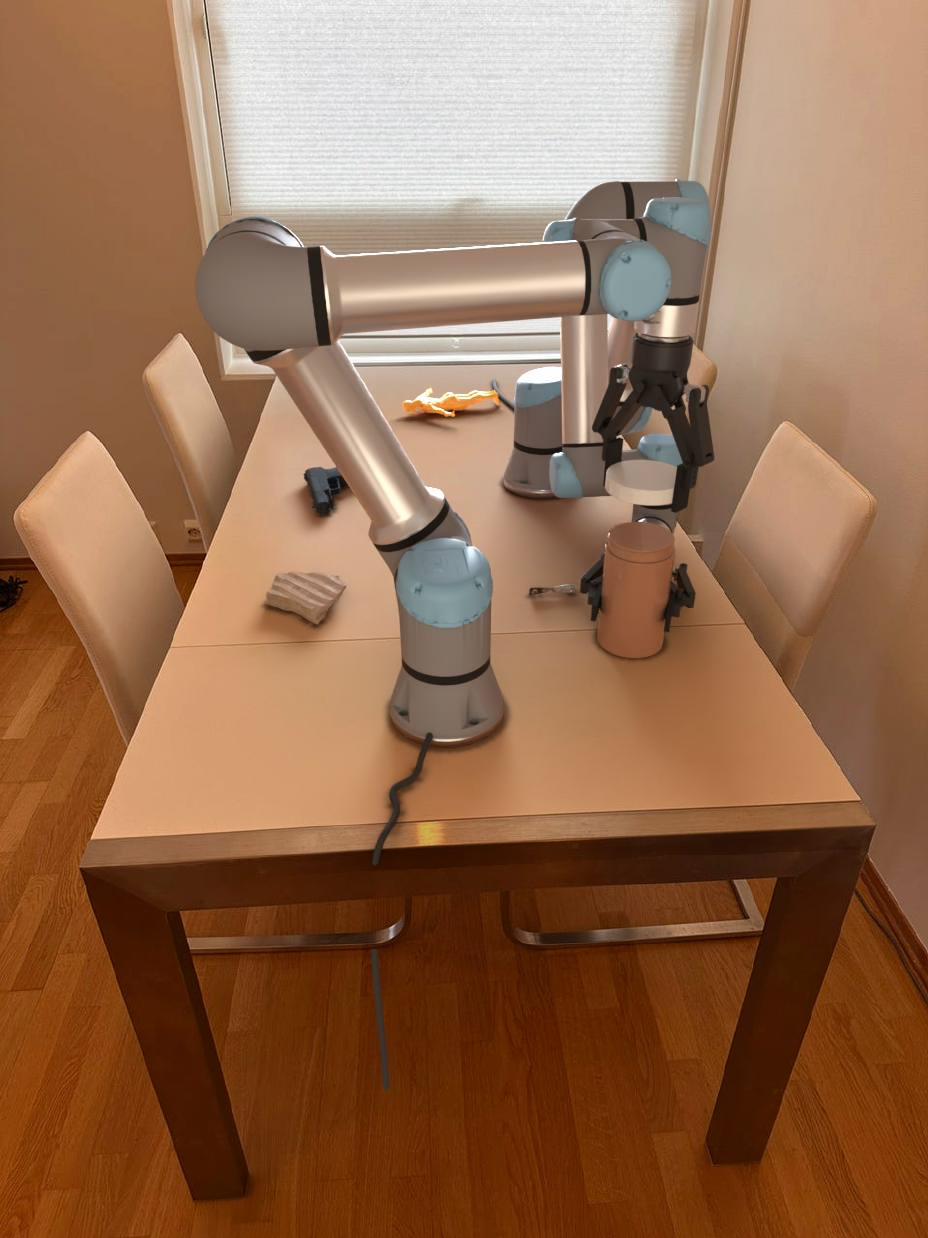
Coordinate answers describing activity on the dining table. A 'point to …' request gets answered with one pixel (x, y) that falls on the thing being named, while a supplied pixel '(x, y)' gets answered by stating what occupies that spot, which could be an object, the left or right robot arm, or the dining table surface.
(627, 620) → the jar
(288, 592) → the stone
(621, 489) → the lid
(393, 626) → the dining table surface
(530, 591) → the putty knife
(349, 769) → the dining table surface
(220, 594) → the dining table surface
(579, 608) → the dining table surface
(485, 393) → the human figure
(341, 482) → the handgun
